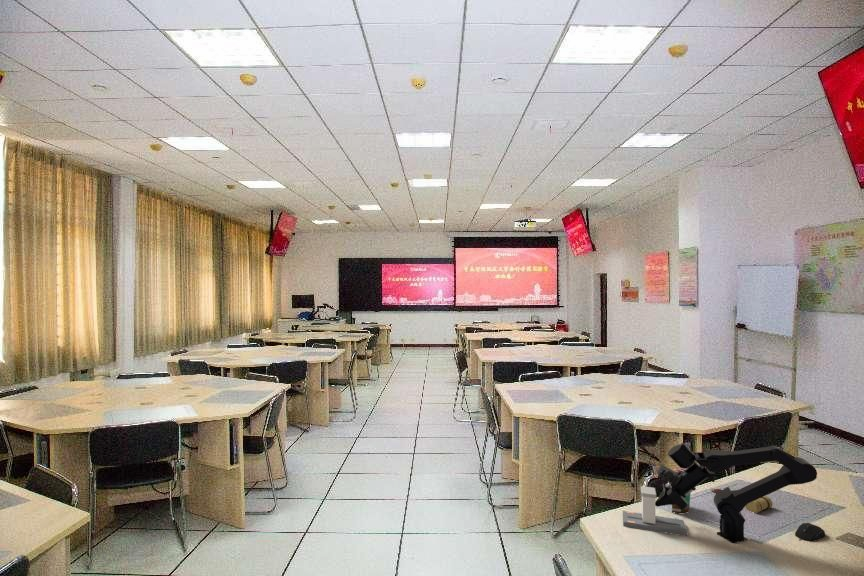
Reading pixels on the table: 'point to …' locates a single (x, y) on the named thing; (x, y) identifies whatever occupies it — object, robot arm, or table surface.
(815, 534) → the gaming mouse
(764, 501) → the gavel
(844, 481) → the table surface
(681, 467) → the robot arm
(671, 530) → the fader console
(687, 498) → the food container
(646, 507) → the fader knob
